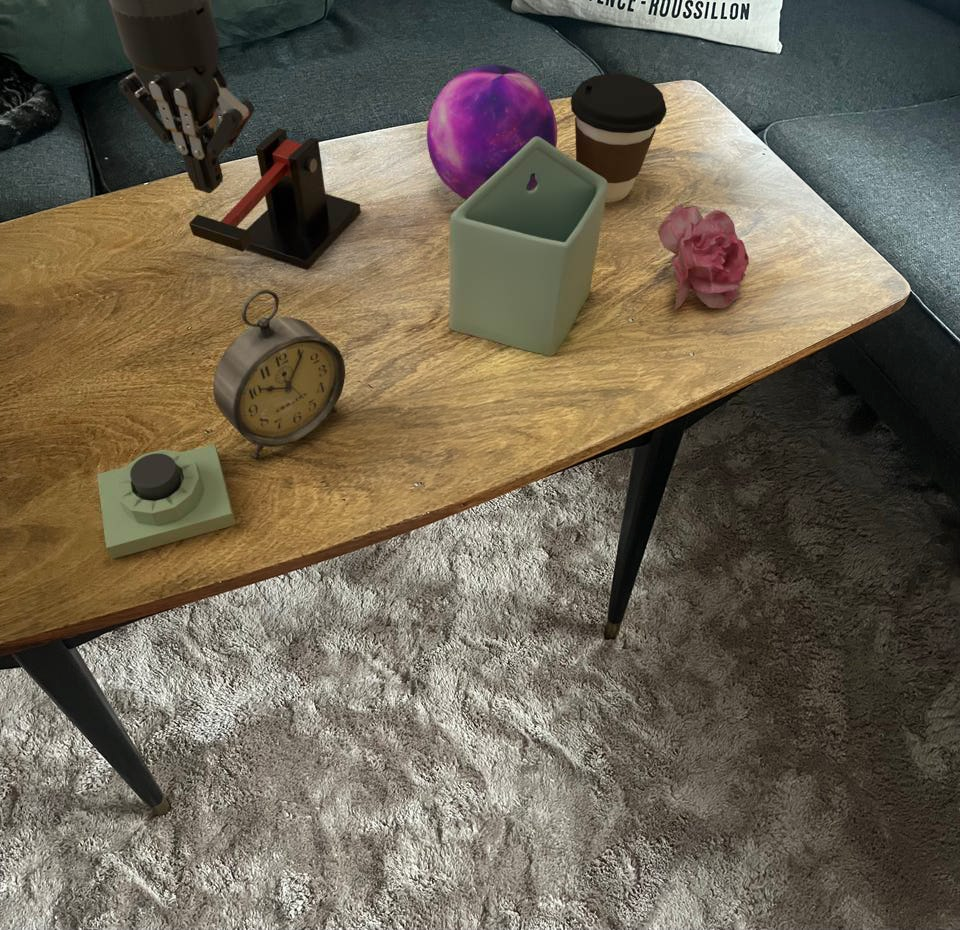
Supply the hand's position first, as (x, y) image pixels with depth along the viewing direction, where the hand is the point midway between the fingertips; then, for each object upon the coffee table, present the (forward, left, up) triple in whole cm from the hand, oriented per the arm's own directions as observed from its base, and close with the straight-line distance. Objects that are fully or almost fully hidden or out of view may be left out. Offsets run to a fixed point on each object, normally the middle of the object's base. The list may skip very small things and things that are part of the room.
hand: (208, 187), depth 78 cm
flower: (+25, -43, -13) cm, 52 cm away
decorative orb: (+30, -15, -13) cm, 36 cm away
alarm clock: (-13, -16, -13) cm, 24 cm away
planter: (+10, -30, -13) cm, 35 cm away
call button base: (-25, -11, -13) cm, 30 cm away
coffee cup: (+38, -27, -13) cm, 49 cm away
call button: (-25, -11, -10) cm, 29 cm away
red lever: (+7, 0, -6) cm, 9 cm away
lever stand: (+13, +1, -13) cm, 18 cm away
